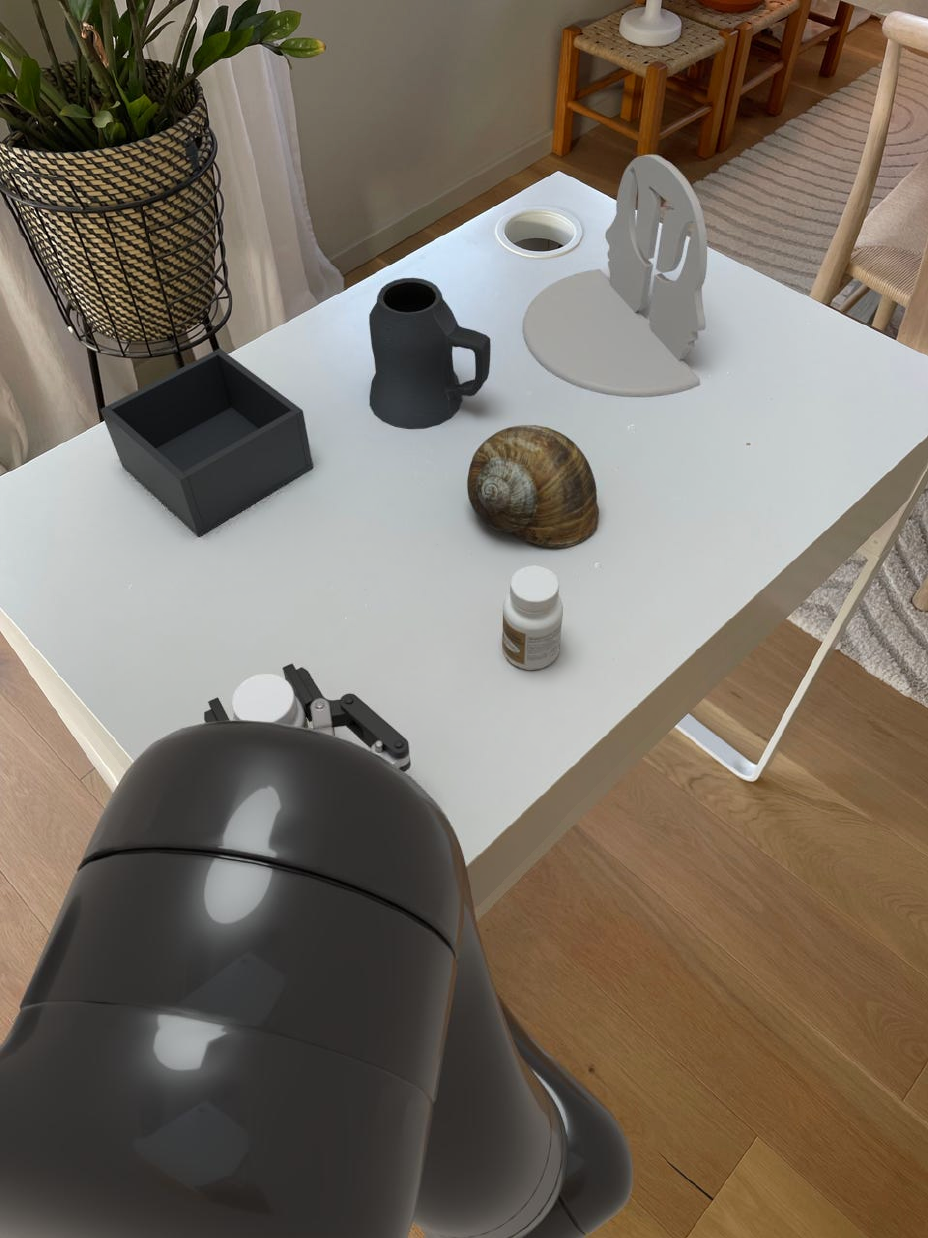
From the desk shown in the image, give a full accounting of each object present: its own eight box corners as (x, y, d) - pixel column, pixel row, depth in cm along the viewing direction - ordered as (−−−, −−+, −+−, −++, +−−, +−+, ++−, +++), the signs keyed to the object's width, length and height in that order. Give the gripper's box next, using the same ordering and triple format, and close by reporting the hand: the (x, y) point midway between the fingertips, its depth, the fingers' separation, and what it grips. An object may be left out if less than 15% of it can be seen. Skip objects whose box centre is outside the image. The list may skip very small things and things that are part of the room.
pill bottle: (494, 634, 74) (495, 568, 68) (547, 620, 75) (552, 554, 69) (512, 678, 72) (515, 613, 66) (567, 663, 73) (575, 598, 67)
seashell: (448, 529, 82) (446, 458, 75) (496, 462, 87) (497, 391, 80) (570, 573, 78) (578, 503, 72) (612, 501, 83) (623, 430, 77)
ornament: (703, 385, 93) (739, 223, 80) (581, 420, 90) (598, 257, 77) (599, 270, 106) (616, 114, 93) (489, 297, 103) (491, 140, 90)
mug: (352, 414, 91) (339, 311, 82) (394, 360, 96) (386, 257, 88) (467, 446, 88) (466, 343, 79) (504, 389, 93) (507, 286, 84)
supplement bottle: (243, 747, 68) (218, 679, 62) (307, 727, 69) (289, 658, 63) (258, 803, 66) (233, 739, 59) (324, 782, 67) (308, 715, 60)
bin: (199, 537, 81) (179, 480, 76) (122, 466, 87) (99, 409, 82) (313, 467, 87) (303, 409, 81) (234, 405, 92) (219, 347, 87)
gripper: (473, 809, 54) (341, 610, 64) (239, 938, 50) (133, 704, 59) (474, 865, 60) (353, 675, 69) (264, 984, 56) (164, 765, 65)
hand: (252, 689), depth 64 cm, fingers closed on supplement bottle, 4 cm apart
